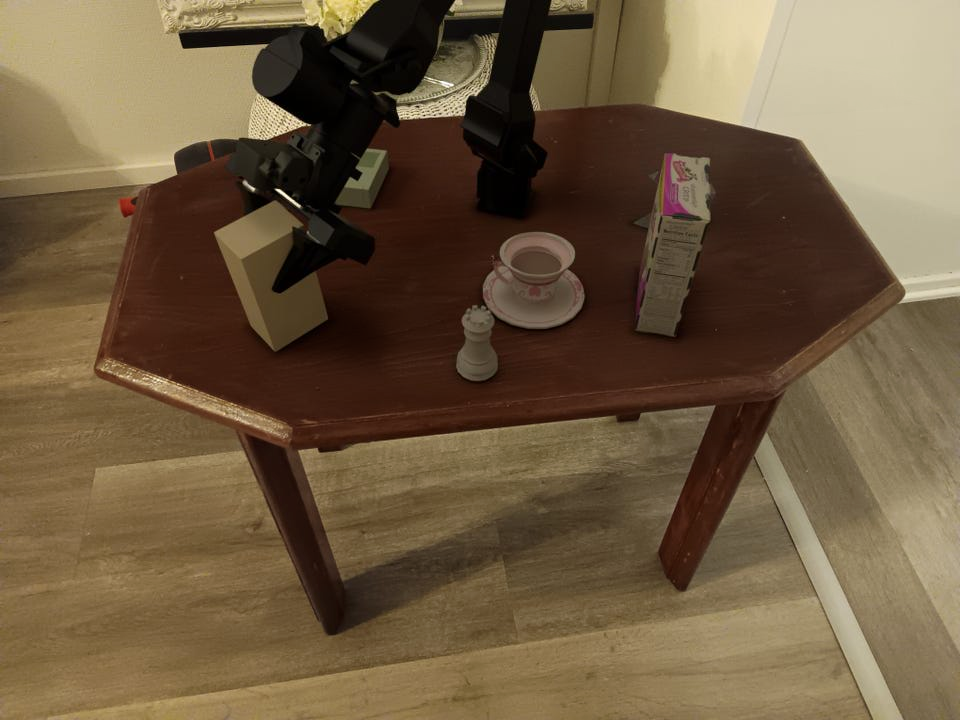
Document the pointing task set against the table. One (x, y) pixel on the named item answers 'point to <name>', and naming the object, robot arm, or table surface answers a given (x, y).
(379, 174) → the socket
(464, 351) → the rook chess piece
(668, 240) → the candy bar box
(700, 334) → the table surface
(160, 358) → the table surface
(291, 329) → the tan rectangular block
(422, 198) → the table surface
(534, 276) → the teacup
